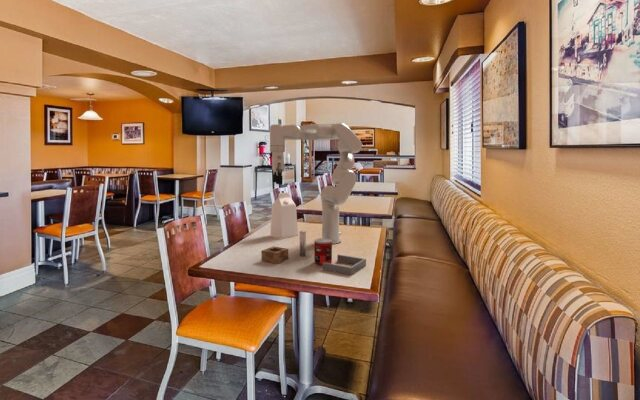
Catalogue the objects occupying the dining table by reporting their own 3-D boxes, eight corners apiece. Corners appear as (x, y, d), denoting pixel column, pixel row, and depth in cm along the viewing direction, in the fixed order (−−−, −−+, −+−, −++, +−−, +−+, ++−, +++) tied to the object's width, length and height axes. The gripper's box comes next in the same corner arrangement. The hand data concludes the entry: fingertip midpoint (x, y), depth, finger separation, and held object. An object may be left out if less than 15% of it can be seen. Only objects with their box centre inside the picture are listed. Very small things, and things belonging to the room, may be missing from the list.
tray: (338, 260, 173) (338, 254, 173) (365, 265, 166) (366, 259, 166) (322, 269, 161) (322, 262, 160) (351, 275, 154) (351, 268, 153)
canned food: (313, 261, 172) (313, 238, 171) (330, 260, 173) (330, 238, 172) (314, 266, 165) (314, 242, 163) (332, 266, 166) (332, 242, 164)
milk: (286, 232, 232) (285, 191, 229) (297, 235, 224) (297, 193, 220) (270, 235, 224) (269, 192, 220) (281, 238, 216) (281, 194, 212)
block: (273, 256, 180) (273, 246, 179) (288, 259, 176) (288, 248, 175) (261, 261, 172) (261, 250, 172) (277, 264, 168) (276, 253, 167)
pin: (301, 254, 184) (301, 230, 182) (306, 255, 182) (306, 231, 181) (298, 255, 181) (298, 231, 179) (303, 256, 180) (303, 232, 178)
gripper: (287, 149, 180) (288, 184, 182) (281, 149, 196) (281, 181, 199) (272, 149, 178) (272, 184, 180) (267, 149, 194) (267, 181, 197)
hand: (277, 183), depth 189 cm, fingers open, 9 cm apart
